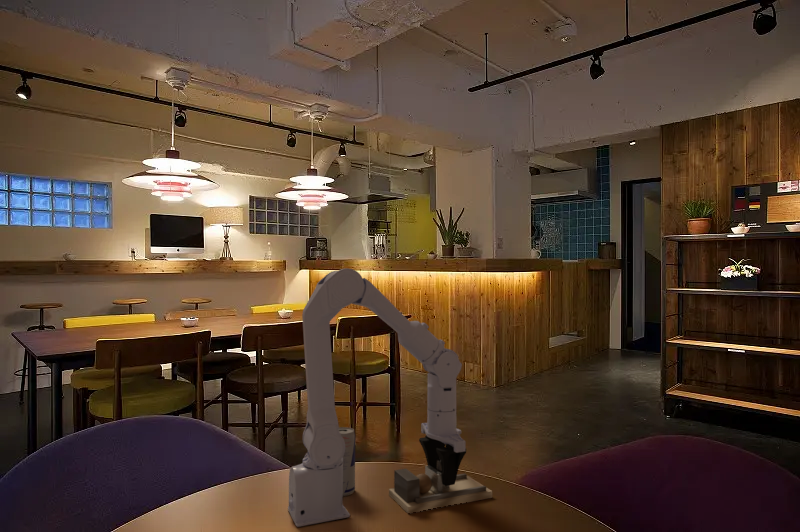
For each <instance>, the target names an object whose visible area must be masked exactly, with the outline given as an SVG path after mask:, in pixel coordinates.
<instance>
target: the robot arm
mask: <svg viewBox="0 0 800 532" xmlns="http://www.w3.org/2000/svg"><path fill="white" fill-rule="evenodd" d="M351 304H352V305H356V306H360V307H364V308H367V309H368V310H370V311H371V312H372V313H373V314H374V315H376V316H377V317H378V318H379V319H380V320H382V322H384V323H385V324H387V326H389V327H390V328H391V329H393V331H395V332H396V333H397V341H398V344H399V345H400V346H402V347H403V348H404V349H405V350H406V351H407V352H408V353H410V355H412V357H414V358H415V359H416V360H417V361H418V362H420V363H421V364H422V365H421V366H422V367H423V369H424V371H426V372H427V386H426V387H427V393H426V394H427V400H426V401H427V402H426V403H427V411H426V412H427V414H426V415H427V419H426V422H422V423H421V426H420V427H421V428H420V429H421V430H420V431H421V434H425V436H424V437H420V438H419V440H418V442H419V443H420V445H421V447H422V451H423V453H424V456H425V459H426V463H427V465H430V466H432V467H433V468H435V469H436V470H437V459H438V458H439V459H440V462H441V468H442V478H443V483H444V485H445V486H448V485H454V484H455V481H456V477H457V475H458V473H459V468H460V465H461V462H462V461H463V459H464V457H465V455H466V454H467V447H466V440H465V439H464V438H462V437H461V434H462V430H461V428H460V429H459V428H457V377H458V375H459V374H460V372H461V370H462V367H463V364H462V362H460V359H459V355H458V353H457V352H455V351H454V350H453V349H450V348H446V347H445V344H446V342H445V341H444V340H443V339H438V338H437V337H436V336H435V335H434V334H433V333H432V332H431V331H430V330H428V329H429V325H428V324H427V323H426V322H420V321H419V320H410V321H409V319H408V318H407V317H406V316H405V315H404V314H403V313H402V312H400V310H399V309H398V308H397V307H396V306H395V305H394V304H393V303H392V302H391V301H390V300H389V299H388V298H387V297H386V296H385V295H384V294H383V293H382V292H381V291H380V290H379V288H377V287H376V286H375V285H374V284H373V283H372V282H371V281H369V279H367V278H365V277H364V278H363V277H362V275H361V274H360V273H359V272H358V271H357V270H355V269H353V268H348V267H347V268H346V267H345V268H342V269H339V270H334V271H330V272H329V273H327V274H326V275H324V276H323V277H322V278H321V279H320V280H319V281H318V282H317V284H316V286H315V288H314V289H313V292H312V294H311V296H310V297H309V299H308V301H307V302H306V304H305V306H304V308H303V310H302V318H301V319H302V332H303V334H302V335H303V348H304V349H303V350H304V361H305V362H304V364H305V365H304V366H305V379H306V381H305V383H306V395H307V411H306V425H305V428H304V430H303V433H302V443H303V445H304V448H306V449H307V452H306V453H305V454H304V457H303V458H302V463H299V464H297V465H293V466H291V467H290V468H289V474H288V506H287V511H288V512H289V515H290V517H291V519H292V521H293V522H294V525H295V526H296V527H297V528H300V527H304V526H309V525H315V524H320V523H325V522H331V521H335V520H336V521H337V520H342V519H347V518H350V517H351V513H350V512H349V511H348V510H347V509H346V507H345V506H344V503H343V501H344V500H343V499H344V496H343V456H344V453H345V442H344V439H343V438H342V436H341V434H340V432H339V427H340V425H339V420H338V416H337V415H338V414H337V412H336V405H335V404H336V403H335V402H336V401H335V390H334V388H335V387H334V374H333V373H334V372H333V359H332V343H331V341H332V340H331V326H330V323H331V321H332V320H333V319H334V318H335V317H336V316H337V315H338V314H339V312H341V311H342V309H345V308H346V307H348V306H350V305H351Z"/></svg>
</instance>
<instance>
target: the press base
mask: <svg viewBox="0 0 800 532" xmlns="http://www.w3.org/2000/svg"><path fill="white" fill-rule="evenodd" d="M393 473H394V478H393V480H394V482H393V484H394V485H393V486H394V487H393V488H389V489H388V496H389V497H390V498H391V499H392V500H393V499H394V500H395V501H396V502H397V503H396V502H395V501H394V500H393V501H394V502H395V503H396V504H397V505H398V506H399V505H400V506H401V507H400V508H401V509H402V510H403V511H405V513H406V514H408V513H410V514H414V513H413V512H416V513H420V511H421V512H424V511H423V510H426V511H429V510H428V509H431V510H434V509H433V508H436V509H438V508H437V507H441V508H444V507H443V506H446V507H449V506H448V505H451V506H455V505H454V504H457V505H460V503H462V504H466V502H467V503H472V502H476V501H480V500H487V499H491V498H493V490H491V489H490V488H488V487H487V486H486V485H483V484H481V483H480V482H479V481H477V480H475V479H474V478H472V477H471V476H469V475H468V474H467V473H460V474H457V477H456V481H455V484H454V485H450V490H449V491H443V492H442V493H441V494H436V493H434V492H433V491H432V490H431V489H430V491H429V492H428V493H426V494H420V493H419V478H418V477H416V476H417V475H415V474H414V473H413V472H412V471H410V470H409V469H408V468H401V469H395V470H394V472H393Z"/></svg>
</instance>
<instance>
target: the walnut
mask: <svg viewBox="0 0 800 532" xmlns="http://www.w3.org/2000/svg"><path fill="white" fill-rule="evenodd" d="M415 476H416V477H418V478H419V493H420V494H426V493H428V492H429V491H430V489H431V487H432V481H431V479H430V477H429V476H428V475H426V474H425V473H418V474H416V475H415Z"/></svg>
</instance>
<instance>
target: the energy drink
mask: <svg viewBox="0 0 800 532" xmlns="http://www.w3.org/2000/svg"><path fill="white" fill-rule="evenodd" d="M339 432H340V434H341V436H342V438H343V439H344V442H345V453H344V456H343V497H348V496H350V495H352V494H353V493H354V492H355V489H356V433H355V429H354V428H352V427H345V426H344V427H343V426H341V427H340V426H339ZM347 495H348V496H347Z"/></svg>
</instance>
